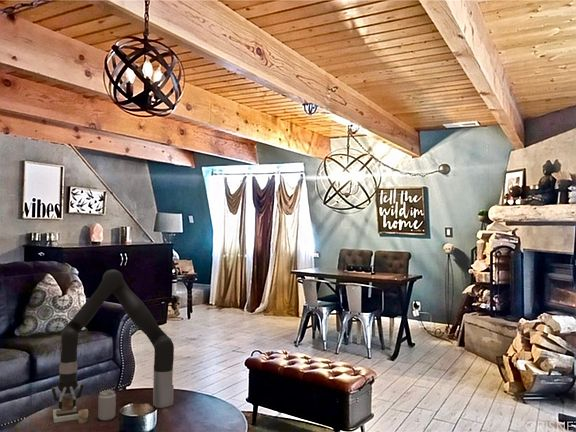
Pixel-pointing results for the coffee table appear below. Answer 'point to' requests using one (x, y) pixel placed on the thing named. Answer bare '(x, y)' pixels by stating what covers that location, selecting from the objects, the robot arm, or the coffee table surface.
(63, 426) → the coffee table surface
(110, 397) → the pale grey jar
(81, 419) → the cork cylinder
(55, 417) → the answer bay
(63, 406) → the walnut block
